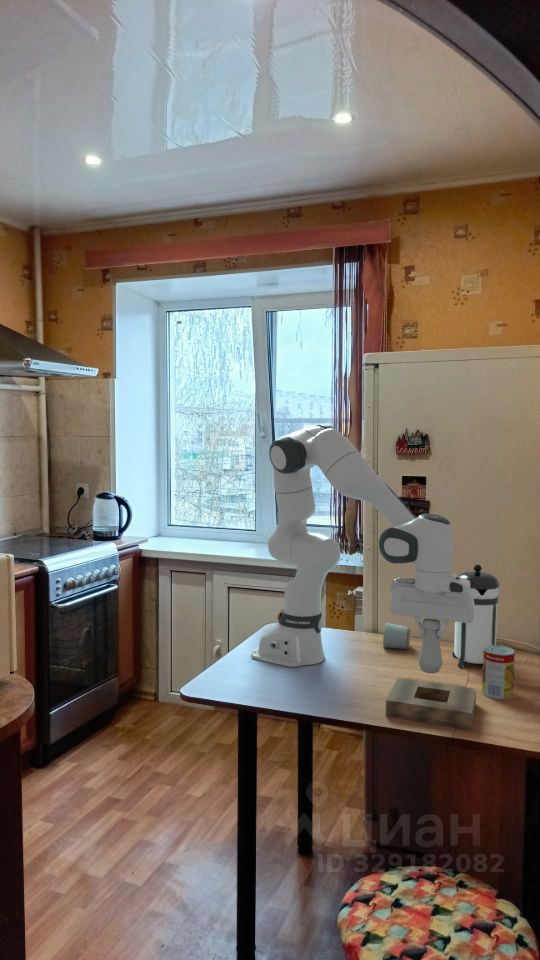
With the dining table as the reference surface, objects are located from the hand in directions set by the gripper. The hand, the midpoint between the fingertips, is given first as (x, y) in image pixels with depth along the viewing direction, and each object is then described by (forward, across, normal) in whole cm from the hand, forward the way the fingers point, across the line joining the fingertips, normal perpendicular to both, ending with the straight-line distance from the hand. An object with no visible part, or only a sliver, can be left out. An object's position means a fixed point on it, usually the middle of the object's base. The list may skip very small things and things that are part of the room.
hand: (431, 636), depth 164 cm
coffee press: (+19, +7, +42) cm, 47 cm away
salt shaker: (+9, 0, 0) cm, 9 cm away
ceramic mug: (+19, -18, +47) cm, 54 cm away
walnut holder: (+19, +1, +1) cm, 19 cm away
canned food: (+19, +15, +19) cm, 31 cm away
